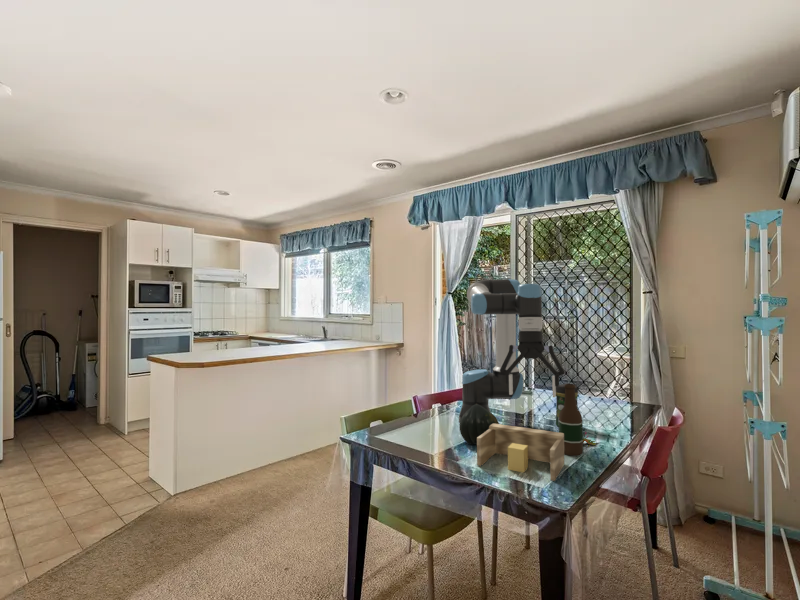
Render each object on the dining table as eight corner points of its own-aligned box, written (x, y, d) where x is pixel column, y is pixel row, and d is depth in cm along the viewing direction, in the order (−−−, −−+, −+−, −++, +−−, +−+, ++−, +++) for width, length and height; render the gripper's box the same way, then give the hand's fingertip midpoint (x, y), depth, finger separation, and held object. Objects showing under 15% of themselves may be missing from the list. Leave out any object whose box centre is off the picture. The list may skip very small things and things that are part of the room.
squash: (490, 438, 146) (496, 400, 155) (450, 433, 153) (459, 398, 163) (499, 456, 155) (505, 419, 164) (462, 451, 162) (469, 416, 171)
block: (508, 469, 131) (507, 447, 131) (512, 464, 135) (512, 443, 136) (523, 472, 129) (523, 449, 129) (528, 467, 133) (527, 445, 133)
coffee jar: (565, 422, 186) (565, 381, 187) (582, 426, 180) (581, 383, 180) (552, 426, 181) (551, 383, 182) (568, 430, 174) (567, 386, 175)
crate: (477, 465, 134) (476, 434, 135) (493, 451, 148) (492, 423, 148) (554, 480, 122) (554, 446, 122) (564, 463, 136) (563, 433, 136)
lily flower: (589, 451, 149) (588, 438, 149) (559, 443, 159) (559, 431, 159) (606, 445, 156) (606, 432, 157) (576, 437, 166) (576, 425, 166)
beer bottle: (571, 457, 142) (570, 386, 142) (554, 450, 149) (553, 383, 150) (588, 454, 145) (586, 385, 146) (570, 447, 152) (569, 382, 153)
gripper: (490, 330, 139) (491, 394, 137) (570, 330, 129) (573, 399, 127) (495, 330, 146) (496, 391, 144) (571, 330, 136) (573, 396, 134)
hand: (532, 395), depth 136 cm, fingers open, 13 cm apart
